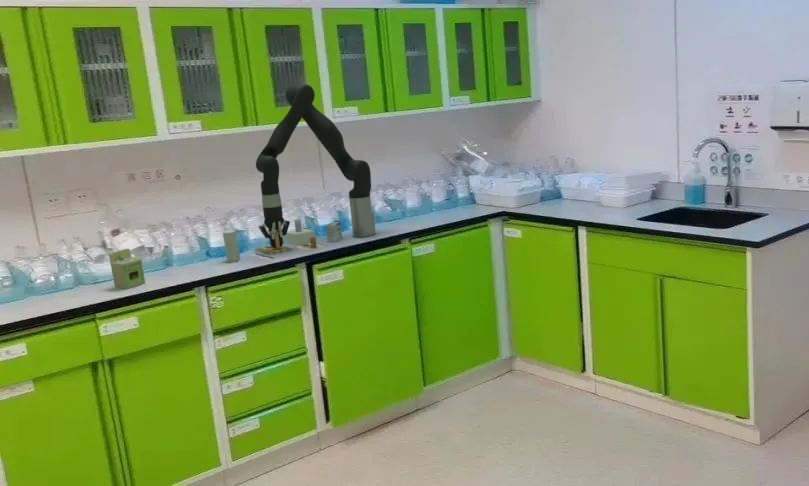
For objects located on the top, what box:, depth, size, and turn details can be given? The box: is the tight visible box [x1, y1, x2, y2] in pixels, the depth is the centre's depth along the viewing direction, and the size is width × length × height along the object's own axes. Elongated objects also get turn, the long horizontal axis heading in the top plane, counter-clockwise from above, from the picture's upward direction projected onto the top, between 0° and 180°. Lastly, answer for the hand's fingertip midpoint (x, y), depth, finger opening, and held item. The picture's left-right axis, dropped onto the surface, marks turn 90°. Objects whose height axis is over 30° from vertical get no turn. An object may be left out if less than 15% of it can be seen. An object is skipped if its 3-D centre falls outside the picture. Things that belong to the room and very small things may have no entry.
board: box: [293, 236, 328, 251], centre depth 314 cm, size 10×12×6 cm
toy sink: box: [108, 248, 146, 290], centre depth 277 cm, size 8×7×13 cm
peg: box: [274, 230, 280, 250], centre depth 309 cm, size 2×2×9 cm
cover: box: [283, 218, 316, 246], centre depth 325 cm, size 9×11×11 cm
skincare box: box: [222, 229, 241, 263], centre depth 305 cm, size 6×4×12 cm
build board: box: [254, 244, 294, 259], centre depth 312 cm, size 10×14×2 cm
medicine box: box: [325, 221, 343, 243], centre depth 322 cm, size 8×4×9 cm, turn 168°
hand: (277, 246), depth 309 cm, fingers closed on peg, 2 cm apart
